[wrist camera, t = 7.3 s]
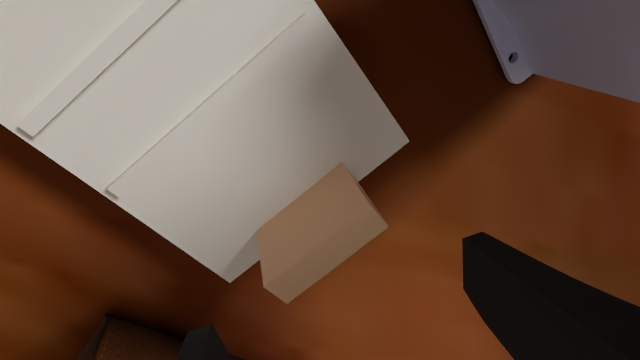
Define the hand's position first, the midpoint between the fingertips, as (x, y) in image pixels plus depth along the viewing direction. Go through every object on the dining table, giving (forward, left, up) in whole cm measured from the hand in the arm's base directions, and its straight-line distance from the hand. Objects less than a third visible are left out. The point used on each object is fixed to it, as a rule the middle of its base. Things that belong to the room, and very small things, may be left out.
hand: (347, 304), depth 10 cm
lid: (+7, 0, -7) cm, 10 cm away
